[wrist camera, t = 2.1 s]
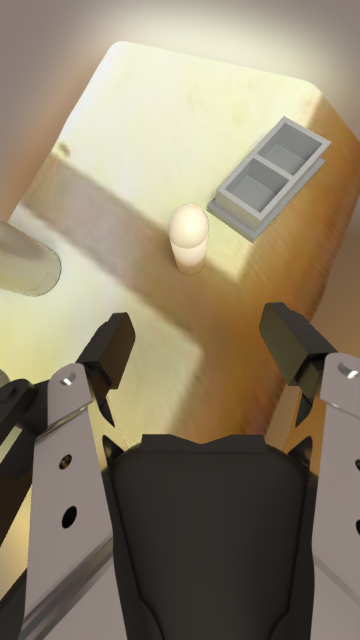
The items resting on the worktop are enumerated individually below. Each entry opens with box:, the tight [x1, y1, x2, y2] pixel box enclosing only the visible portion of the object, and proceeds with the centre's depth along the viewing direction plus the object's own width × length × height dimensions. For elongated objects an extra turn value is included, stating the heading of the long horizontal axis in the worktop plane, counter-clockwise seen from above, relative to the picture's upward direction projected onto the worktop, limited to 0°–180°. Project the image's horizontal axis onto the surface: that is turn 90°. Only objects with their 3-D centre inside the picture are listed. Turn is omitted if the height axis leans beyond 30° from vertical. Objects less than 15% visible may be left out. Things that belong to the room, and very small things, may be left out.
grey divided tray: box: [207, 116, 331, 243], centre depth 24 cm, size 10×17×4 cm, turn 138°
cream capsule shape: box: [168, 204, 209, 275], centre depth 21 cm, size 5×5×10 cm
